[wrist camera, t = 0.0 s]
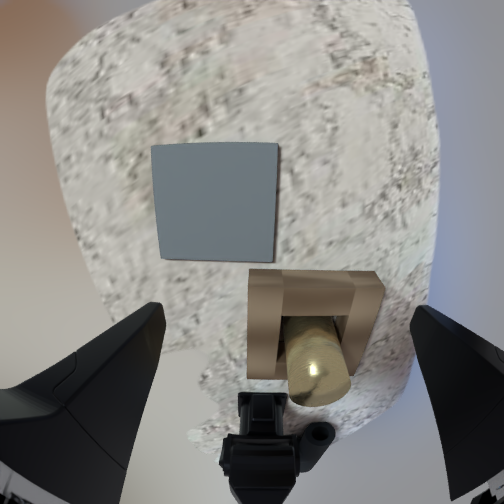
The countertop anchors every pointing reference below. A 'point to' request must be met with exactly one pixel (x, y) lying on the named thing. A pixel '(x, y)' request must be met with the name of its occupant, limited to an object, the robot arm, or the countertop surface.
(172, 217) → the mat
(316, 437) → the pipe connector
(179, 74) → the countertop surface
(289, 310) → the housing
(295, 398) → the end plug
